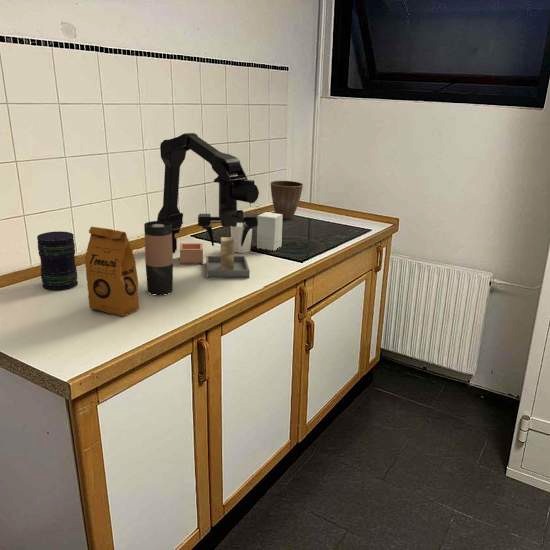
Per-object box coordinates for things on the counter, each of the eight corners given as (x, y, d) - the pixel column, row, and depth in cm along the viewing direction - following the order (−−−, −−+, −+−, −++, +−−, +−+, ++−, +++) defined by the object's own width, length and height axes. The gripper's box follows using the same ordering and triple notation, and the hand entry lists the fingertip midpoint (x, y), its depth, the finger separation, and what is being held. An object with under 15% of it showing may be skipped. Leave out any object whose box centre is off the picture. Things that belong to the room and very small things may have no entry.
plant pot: (299, 214, 256) (301, 181, 251) (302, 222, 242) (304, 186, 237) (268, 213, 255) (269, 180, 250) (269, 221, 241) (271, 185, 236)
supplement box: (282, 246, 204) (283, 214, 199) (273, 251, 197) (275, 217, 193) (264, 243, 207) (265, 211, 202) (256, 248, 200) (257, 215, 196)
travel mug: (178, 288, 158) (176, 222, 151) (165, 297, 151) (163, 228, 144) (155, 284, 160) (153, 219, 153) (141, 293, 153) (138, 225, 146)
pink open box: (180, 264, 179) (179, 249, 177) (180, 257, 186) (180, 243, 184) (202, 263, 180) (202, 249, 178) (202, 257, 187) (202, 243, 186)
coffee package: (120, 321, 135) (115, 237, 127) (83, 311, 140) (76, 229, 132) (146, 308, 143) (142, 228, 136) (110, 298, 148) (104, 221, 141)
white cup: (253, 248, 200) (253, 222, 197) (250, 254, 193) (250, 227, 189) (232, 246, 201) (232, 220, 197) (228, 252, 193) (228, 226, 190)
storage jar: (41, 281, 159) (36, 232, 154) (76, 277, 163) (72, 230, 158) (42, 292, 150) (36, 241, 145) (79, 289, 154) (75, 239, 149)
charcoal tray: (207, 278, 167) (207, 270, 166) (206, 262, 181) (206, 255, 180) (249, 277, 169) (249, 270, 168) (244, 262, 183) (245, 255, 182)
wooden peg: (221, 270, 173) (221, 240, 169) (220, 266, 176) (220, 237, 173) (233, 270, 173) (234, 240, 170) (232, 266, 177) (233, 237, 174)
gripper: (198, 203, 158) (198, 253, 163) (260, 203, 161) (259, 253, 166) (197, 195, 169) (198, 243, 174) (256, 196, 171) (255, 243, 177)
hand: (227, 245), depth 172 cm, fingers open, 9 cm apart
